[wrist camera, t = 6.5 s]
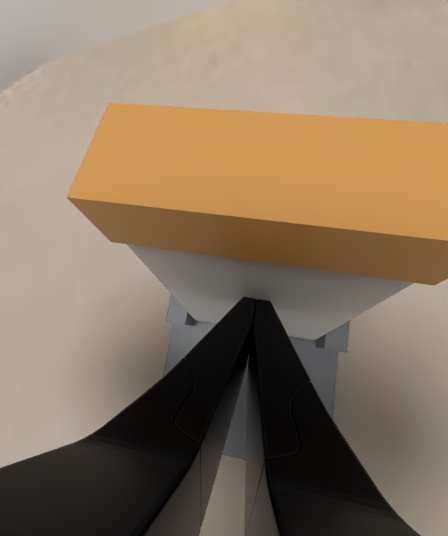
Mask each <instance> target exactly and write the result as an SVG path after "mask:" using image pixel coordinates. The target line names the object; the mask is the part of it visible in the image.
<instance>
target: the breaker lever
mask: <svg viewBox="0 0 448 536" xmlns="http://www.w3.org/2000/svg"><path fill="white" fill-rule="evenodd" d="M67 198H68V199H69V200H70V201H71V202H72V203H73V204H74V205H75V206H76V207H77V208H78V209H79V210H80V211H81V212H82V213H83V214H84V215H85V216H86V217H87V218H88V219H89V220H90V221H91V222H92V223H93V224H94V225H95V226H96V227H97V228H98V229H99V230H100V231H101V232H102V233H103V234H104V235H105V236H106V237H107V238H108V239H109V240H110V241H111V242H116V243H123V244H127V245H128V246H129V247H130V248H131V249H132V251H133V252H134V253H135V254H136V255H137V256H138V257H139V258H140V259H141V261H142V262H143V263H144V264H145V265H146V266H147V267H148V268H149V269H150V271H151V272H152V273H153V274H154V275H155V276H156V277H157V278H158V279H159V281H160V282H161V283H162V284H163V285H164V286H165V287H166V288H167V289H168V291H169V292H170V293H171V294H172V295H173V296H174V297H175V298H176V299H177V301H178V302H179V303H180V304H181V305H182V306H183V307H184V308H185V309H186V311H187V312H188V313H189V314H190V315H191V316H192V317H193V318H194V319H195V320H197V321H202V322H208V323H214V324H217V323H218V322H219V321H220V320H221V319H222V318H223V317H224V316H225V315H226V314H227V313H228V312H229V311H230V310H231V309H232V308H233V307H234V306H235V305H236V304H237V303H238V302H239V300H240V299H241V298H242V297H248V298H254V299H256V301H257V299H261V300H267V301H271V303H272V305H273V307H274V309H275V311H276V313H277V315H278V317H279V318H280V320H281V322H282V324H283V326H284V328H285V330H286V332H287V334H288V336H291V337H296V338H302V339H308V340H316V339H318V338H320V337H321V336H323V335H325V334H327V333H328V332H330V331H332V330H334V329H335V328H337V327H339V326H340V325H342V324H344V323H346V322H347V321H349V320H351V319H353V318H354V317H356V316H358V315H359V314H361V313H363V312H365V311H366V310H368V309H370V308H372V307H373V306H375V305H377V304H378V303H380V302H382V301H384V300H385V299H387V298H389V297H391V296H392V295H394V294H396V293H397V292H399V291H401V290H403V289H404V288H406V287H408V286H410V285H411V284H413V283H420V284H428V285H436V284H438V283H440V282H442V281H444V280H446V279H448V124H446V123H429V122H413V121H397V120H380V119H364V118H348V117H331V116H315V115H299V114H282V113H266V112H250V111H233V110H217V109H201V108H184V107H168V106H152V105H135V104H119V103H108V105H107V108H106V110H105V112H104V114H103V117H102V119H101V121H100V123H99V126H98V128H97V130H96V132H95V135H94V137H93V139H92V141H91V144H90V146H89V148H88V150H87V153H86V155H85V157H84V159H83V161H82V164H81V166H80V168H79V170H78V173H77V175H76V177H75V179H74V182H73V184H72V186H71V188H70V191H69V193H68V195H67Z"/></svg>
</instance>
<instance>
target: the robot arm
mask: <svg viewBox="0 0 448 536" xmlns="http://www.w3.org/2000/svg"><path fill="white" fill-rule="evenodd" d="M248 357H249V358H248ZM247 362H248V368H247V420H246V479H245V536H420V535H419V534H418V533H417V532H416V531H414V530H413V529H412V528H411V527H410V526H409V525H408V524H407V523H406V522H405V521H404V520H403V519H402V518H401V517H400V516H399V515H398V514H397V513H396V512H395V511H394V509H393V508H392V507H391V506H390V505H389V503H388V502H387V501H386V500H385V498H384V497H383V496H382V494H381V493H380V491H379V490H378V488H377V487H376V485H375V484H374V482H373V481H372V479H371V478H370V476H369V475H368V473H367V472H366V470H365V469H364V467H363V466H362V464H361V463H360V461H359V460H358V458H357V457H356V455H355V453H354V452H353V450H352V449H351V447H350V446H349V444H348V443H347V441H346V440H345V438H344V437H343V435H342V434H341V432H340V431H339V429H338V427H337V426H336V424H335V423H334V421H333V419H332V418H331V416H330V415H329V413H328V411H327V409H326V408H325V406H324V404H323V402H322V400H321V398H320V397H319V395H318V393H317V391H316V389H315V387H314V385H313V383H312V382H311V379H310V377H309V375H308V373H307V371H306V370H305V368H304V366H303V364H302V362H301V360H300V358H299V356H298V354H297V352H296V350H295V348H294V346H293V344H292V342H291V340H290V338H289V336H288V334H287V332H286V330H285V328H284V326H283V324H282V322H281V320H280V318H279V317H278V315H277V313H276V311H275V309H274V307H273V305H272V303H271V301H267V300H261V299H257V301H256V299H254V298H248V297H242V298H241V299H240V300H239V302H238V303H237V304H236V305H235V306H234V307H233V308H232V309H231V310H230V311H229V312H228V313H227V314H226V315H225V316H224V317H223V318H222V319H221V320H220V321H219V322H218V323H217V324H216V325H215V326H214V327H213V328H212V329H211V330H210V331H209V332H208V333H207V334H206V335H205V336H204V337H203V338H202V339H201V340H200V341H199V342H198V343H197V344H196V345H195V346H194V347H193V348H192V349H191V350H190V351H189V352H188V353H187V354H186V355H185V357H184V358H182V359H181V360H180V361H179V362H178V363H177V364H176V365H175V366H174V367H173V368H172V369H171V370H170V371H169V372H168V373H167V374H166V375H165V376H164V377H163V378H162V379H161V380H159V381H158V382H157V383H156V384H155V385H153V386H152V387H151V388H150V389H149V390H148V391H146V392H145V393H144V394H143V395H141V396H140V397H139V398H138V399H136V400H135V401H134V402H133V403H131V404H130V405H129V406H128V407H126V408H125V409H124V410H123V411H121V412H120V413H119V414H118V415H116V416H115V417H114V418H113V419H111V420H110V421H109V422H108V423H106V424H105V425H104V426H103V427H101V428H100V429H98V430H97V431H95V432H94V433H92V434H91V435H89V436H87V437H85V438H83V439H81V440H79V441H77V442H75V443H72V444H69V445H66V446H63V447H60V448H57V449H54V450H51V451H48V452H46V453H43V454H40V455H37V456H34V457H31V458H28V459H25V460H22V461H19V462H16V463H13V464H10V465H7V466H5V467H2V468H0V536H199V534H200V528H201V526H202V523H203V519H204V516H205V512H206V509H207V505H208V502H209V498H210V495H211V491H212V488H213V484H214V481H215V477H216V474H217V470H218V466H219V463H220V459H221V456H222V452H223V449H224V445H225V442H226V438H227V435H228V431H229V428H230V424H231V421H232V417H233V414H234V410H235V407H236V403H237V400H238V396H239V392H240V389H241V385H242V382H243V378H244V375H245V371H246V367H247Z"/></svg>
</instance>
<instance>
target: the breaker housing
mask: <svg viewBox="0 0 448 536" xmlns="http://www.w3.org/2000/svg"><path fill="white" fill-rule="evenodd" d="M166 321H167V322H173V323H174V324H173V329H172V334H171V339H170V344H169V349H168V354H167V359H166V364H165V369H164V374H163V377H164V376H165V375H166V374H167V373H168V372H169V371H170V370H171V369H172V368H173V367H174V366H175V365H176V364H177V363H178V362H179V361H180V360H181V359H182V358H184V357H185V355H186V354H187V353H188V352H189V351H190V350H191V349H192V348H193V347H194V346H195V345H196V344H197V343H198V342H199V341H200V340H201V339H202V338H203V337H204V336H205V335H206V334H207V333H208V332H209V331H210V330H211V329H212V328H213V327H214V326H215V325H216V324H214V323H208V322H202V321H197V320H195V319H194V318H193V317H192V316H191V315H190V314H189V313H188V312H187V311H186V309H185V308H184V307H183V306H182V305H181V304H180V303H179V302H178V301H177V299H176V298H175V297H174V296H173V295H172V294H171V298H170V303H169V307H168V312H167V317H166ZM348 332H349V321H347V322H346V323H344V324H342V325H340V326H339V327H337V328H335V329H334V330H332V331H330V332H328V333H327V334H325V335H323V336H321V337H320V338H318V339H316V340H308V339H302V338H296V337H291V336H289V338H290V340H291V342H292V344H293V346H294V348H295V350H296V352H297V354H298V356H299V358H300V360H301V362H302V364H303V366H304V368H305V370H306V371H307V373H308V375H309V377H310V379H311V382H312V383H313V385H314V387H315V389H316V391H317V393H318V395H319V397H320V398H321V400H322V402H323V404H324V406H325V408H326V409H327V411H328V413H329V415H330V416H331V418H332V419H333V408H334V395H335V382H336V369H337V356H338V351H341V352H347V346H348ZM248 358H249V357H248ZM247 368H248V362H247V367H246V371H245V375H244V378H243V382H242V385H241V389H240V392H239V396H238V400H237V403H236V407H235V410H234V414H233V417H232V421H231V424H230V428H229V431H228V435H227V438H226V442H225V445H224V449H223V452H222V454H223V455H227V456H231V457H236V458H240V459H244V460H246V420H247Z"/></svg>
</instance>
